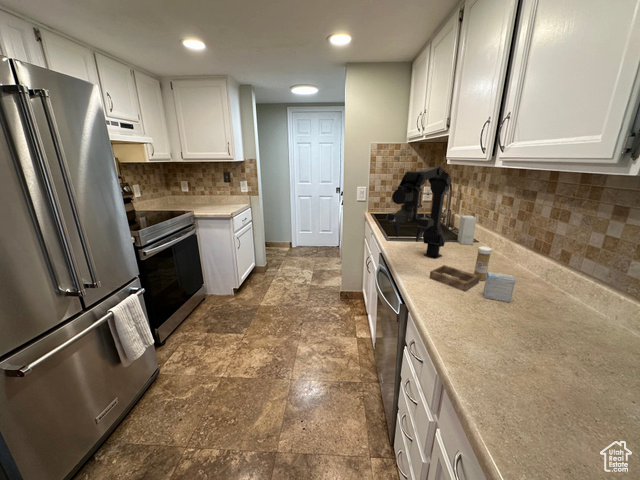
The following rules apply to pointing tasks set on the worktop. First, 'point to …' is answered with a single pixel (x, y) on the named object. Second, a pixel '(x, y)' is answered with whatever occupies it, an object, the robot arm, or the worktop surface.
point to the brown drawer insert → (462, 283)
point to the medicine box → (499, 286)
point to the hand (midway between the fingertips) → (406, 239)
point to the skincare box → (466, 230)
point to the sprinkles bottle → (482, 262)
